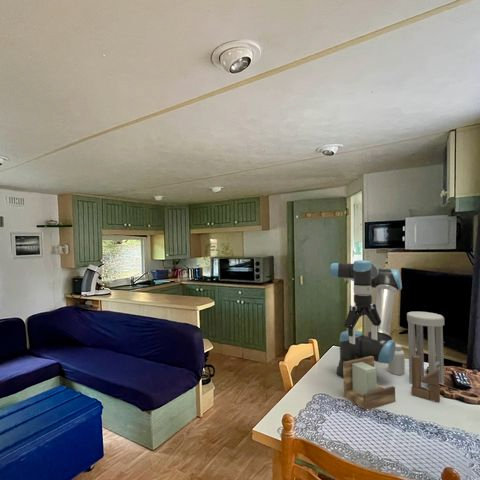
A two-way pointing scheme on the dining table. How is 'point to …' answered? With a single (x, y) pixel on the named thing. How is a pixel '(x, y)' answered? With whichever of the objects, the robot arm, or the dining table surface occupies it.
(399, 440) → the dining table surface
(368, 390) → the sage green upright block
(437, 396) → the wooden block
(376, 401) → the wooden display stand
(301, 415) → the dining table surface
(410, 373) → the stool
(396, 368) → the pill bottle
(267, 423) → the dining table surface
